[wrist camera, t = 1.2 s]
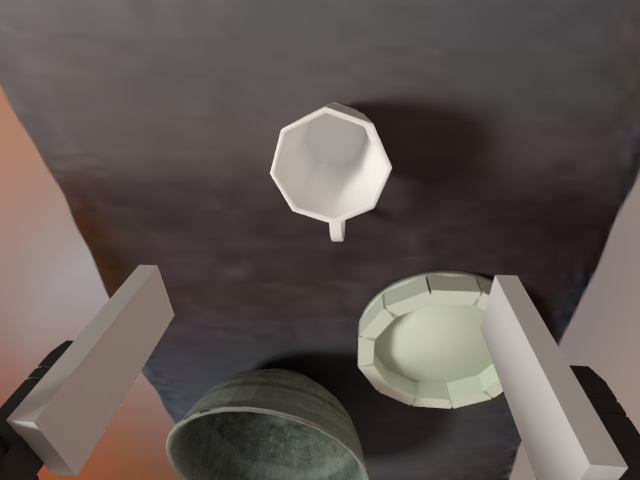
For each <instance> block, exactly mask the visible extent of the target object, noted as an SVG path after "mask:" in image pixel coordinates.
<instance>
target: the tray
mask: <svg viewBox="0 0 640 480" xmlns="http://www.w3.org/2000/svg"><path fill="white" fill-rule="evenodd" d="M492 284H493V281H491V280H489V279H487V278H485V277H483V276H479V275H476V274H473V273H469V272H463V271H455V270H435V271H427V272H422V273H417V274H413V275H410V276H407V277H404V278H402V279H400V280H398V281H395V282H393V283H392V284H390V285H388V286H387V287H385V288H384V289H382V290H381V291H380V292H379V293H377V294H376V295H375V296H374V297H373V298H372V299H371V300H370V302H369V303H368V305H367V306H366V307H365V309H364V311H363V313H362V315H361V319H360V322H359V329H358V368H359V369H360V370H361V371H362V373H363V374H364V375H365V376H366V378H367V379H368V380H369V381H370V383H371V384H372V385H373V386H374V388H375V389H376V390H378V391H379V392H380V393H382V394H385V395H387V396H389V397H392V398H394V399H396V400H398V401H401V402H403V403H405V404H408V405H411V404H412V405H413V406H417V407H433V408H448V409H451V406H452V407H453V408H457V407H461V406H465V405H469V404H473V403H477V402H481V401H485V400H489V399H491V397H493V398H494V397H496V396H497V395H499V394H500V393H501V392H503V388H502V386H501V383H500V380H499V378H498V375H497V372H496V369H495V367H494V364H493V361H492V359H491V356H490V353H489V351H488V348H487V345H486V343H485V340H484V337H483V334H482V332H481V329H480V327H481V324H482V320H483V317H484V313H485V309H486V306H487V302H488V299H489V295H490V292H491V288H492Z"/></svg>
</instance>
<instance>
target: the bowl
mask: <svg viewBox="0 0 640 480" xmlns="http://www.w3.org/2000/svg"><path fill="white" fill-rule="evenodd" d="M166 450H167V455H168V459H169V461H170V463H171V465H172V467H173V469H174V471H175V472H176V474H177V475H178V476H179V478H180V479H181V480H370V473H369V471H368V468H367V466H366V464H365V461H364V457H363V452H362V448H361V444H360V440H359V437H358V435H357V432H356V430H355V427H354V425H353V423H352V420H351V418H350V416H349V414H348V413H347V411H346V410H345V409H344V407H343V406H342V405H341V403H340V402H339V401H338V399H337V398H336V397H335V396H334V395H332V394H331V393H330V392H329V391H327V390H326V389H325V388H324V387H323V386H321V385H320V384H318V383H316V382H315V381H313V380H312V379H310V378H308V377H307V376H305V375H304V374H302V373H299V372H297V371H293V370H289V369H282V368H272V369H259V370H253V371H247V372H243V373H239V374H237V375H234V376H232V377H229V378H227V379H225V380H223V381H222V382H220V383H219V384H217V385H216V386H214V387H213V388H211V389H210V390H209V391H207V392H206V393H205V394H204V395H203V396H202V397H201V398H200V399H199V400H198V401H197V403H196V404H195V405H194V406H193V407H192V408H191V409H190V410H189V412H188V413H187V414H186V415H185V417H184V418H183V419H182V420H180V421H179V422H178V423H177V424H176V425H175V426H174V428H173V429H172V431H171V432H170V433H169V434H168V438H167V442H166Z"/></svg>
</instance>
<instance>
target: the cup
mask: <svg viewBox="0 0 640 480" xmlns="http://www.w3.org/2000/svg"><path fill="white" fill-rule="evenodd" d="M391 169H392V166H391V164H390V161H389V159H388V157H387V154H386V152H385V150H384V148H383V145H382V143H381V141H380V138H379V136H378V134H377V131H376V129H375V127H374V124H373V123H372V122H371V121H370V120H369V119H368V118H367V117H366V116H365V115H364V114H363V113H360V112H358V110H356V109H353V108H350V107H348V106H345V105H342V104H339V103H336V102H335V103H330V104H328V105H326V106H324V107H322V108H320V109H318V110H316V111H314V112H313V113H311V114H309V115H307V116H305V117H303V118H301V119H300V120H298V121H296V122H294V123H292V124H290V125H289V126H287V127H285V128H283V129H282V130H281V133H280V137H279V141H278V145H277V149H276V152H275V156H274V160H273V164H272V168H271V172H270V174H271V176H272V178H273V179H274V181H275V183H276V184H277V186H278V188H279V189H280V191H281V192H282V194H283V196H284V197H285V199H286V201H287V202H288V204H289V206H290V207H291V209H292V211H294V212H298V213H301V214H304V215H307V216H310V217H313V218H316V219H319V220H322V221H325V222H328V223H329V226H330V235H331V240H332V241H333V242H334V241H343V240H344V233H345V220H346V219H348V218H351V217H353V216H356V215H358V214H361V213H363V212H366V211H368V210H371V209H373V208H374V207H375V205H376V203H377V200H378V198H379V196H380V194H381V192H382V189H383V187H384V185H385V183H386V181H387V178H388V176H389V174H390V172H391Z"/></svg>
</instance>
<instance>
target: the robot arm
mask: <svg viewBox="0 0 640 480" xmlns="http://www.w3.org/2000/svg"><path fill="white" fill-rule="evenodd" d="M173 317H174V313H173V310H172V307H171V304H170V301H169V298H168V295H167V292H166V289H165V286H164V283H163V281H162V278H161V275H160V272H159V269H158V266H157V265H139V266H138V267H137V268H136V270H135V271H134V272H133V273H132V274H131V275H130V276H129V278H128V279H127V280H126V281H125V282H124V283H123V285H122V286H121V287H120V288H119V289H118V290H117V292H116V293H115V294H114V295H113V296H112V297H111V299H110V300H109V301H108V302H107V303H106V304H105V306H104V307H103V308H102V309H101V310H100V311H99V313H98V314H97V315H96V316H95V317H94V318H93V320H92V321H91V322H90V323H89V324H88V325H87V327H86V328H85V329H84V330H83V331H82V332H81V334H80V335H79V336H78V337H77V338H76V339H75V341H65V342H64V343H63V344H61V345H60V346H58V347H57V348H56V349H54V350H53V351H51V352H50V353H49V354H48V356H47V357H46V358H45V359H44V360H43V361H42V362H41V363H40V364H39V366H38V368H37V369H35V370H34V371H33V372H32V373H31V375H29V377H28V380H25V381H24V382H23V383H22V384H21V386H20V387H19V388H18V389H17V390H16V391H15V392H14V393H13V394H12V395H11V397H10V398H9V399H8V400H7V401H6V402H5V403H4V404H3V406H2V407H1V408H0V480H39V478H38V476H37V473H38V472H39V470H40V469H41V467H42V466H43V465H45V466H46V467H47V468H48V469H49V470H50V472H51V473H52V474H57V475H67V476H77V475H78V474H79V472H80V470H81V469H82V467H83V465H84V464H85V462H86V461H87V459H88V457H89V456H90V454H91V452H92V451H93V449H94V447H95V446H96V444H97V442H98V441H99V439H100V437H101V436H102V434H103V432H104V431H105V429H106V428H107V426H108V424H109V423H110V421H111V419H112V417H113V416H114V414H115V413H116V411H117V409H118V408H119V406H120V404H121V403H122V401H123V399H124V398H125V396H126V394H127V393H128V391H129V389H130V387H131V386H132V384H133V383H134V381H135V380H136V378H137V376H138V374H139V373H140V371H141V370H142V368H143V366H144V365H145V363H146V361H147V360H148V358H149V356H150V355H151V353H152V351H153V350H154V348H155V347H156V345H157V343H158V342H159V340H160V338H161V337H162V335H163V333H164V332H165V330H166V328H167V327H168V325H169V323H170V322H171V320H172V318H173ZM480 329H481V332H482V334H483V337H484V340H485V343H486V345H487V348H488V351H489V353H490V356H491V359H492V361H493V364H494V367H495V369H496V372H497V375H498V378H499V380H500V383H501V386H502V388H503V391H504V394H505V396H506V399H507V402H508V404H509V407H510V410H511V413H512V415H513V418H514V421H515V423H516V426H517V429H518V431H519V434H520V437H521V439H522V442H523V445H524V448H525V450H526V453H527V456H528V458H529V461H530V464H531V466H532V469H533V472H534V474H535V477H536V480H640V434H639V433H638V431H637V429H636V428H635V426H634V425H633V423H632V422H631V420H630V419H629V417H626V413H625V411H624V410H623V408H622V406H621V405H620V404H619V403H618V402H617V399H616V397H615V396H614V394H613V393H612V391H611V390H610V388H609V387H608V385H607V384H606V382H605V381H604V380H603V379H602V378H601V377H599V376H598V375H597V374H596V373H595V372H594V371H593V370H592V369H591V368H589V367H588V366H571V365H568V363H567V361H566V359H565V358H564V356H563V354H562V353H561V351H560V349H559V347H558V346H557V344H556V342H555V340H554V339H553V337H552V335H551V334H550V332H549V330H548V328H547V327H546V325H545V323H544V322H543V320H542V318H541V316H540V315H539V313H538V311H537V309H536V308H535V306H534V304H533V303H532V301H531V299H530V297H529V296H528V294H527V292H526V291H525V289H524V287H523V285H522V284H521V282H520V280H519V278H518V277H517V276H511V275H495V277H494V281H493V284H492V288H491V292H490V295H489V299H488V302H487V306H486V309H485V313H484V317H483V320H482V324H481V327H480Z"/></svg>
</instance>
